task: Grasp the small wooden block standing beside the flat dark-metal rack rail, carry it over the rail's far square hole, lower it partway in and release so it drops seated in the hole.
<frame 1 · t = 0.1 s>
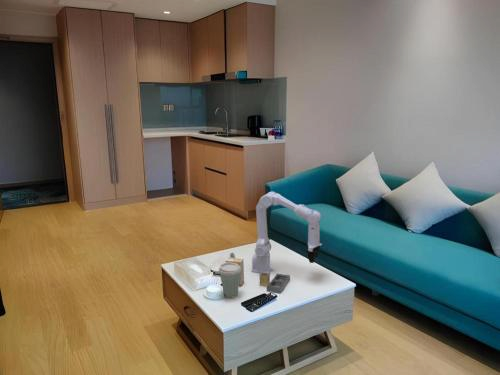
hand: (313, 259, 200), 10 cm above the table, fingers open, 7 cm apart
spoon rest: (224, 268, 217), on the table
supplement box: (235, 283, 197), on the table
disposable coffee cup: (230, 295, 185), on the table
wooden block: (264, 284, 195), on the table
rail: (278, 285, 194), on the table
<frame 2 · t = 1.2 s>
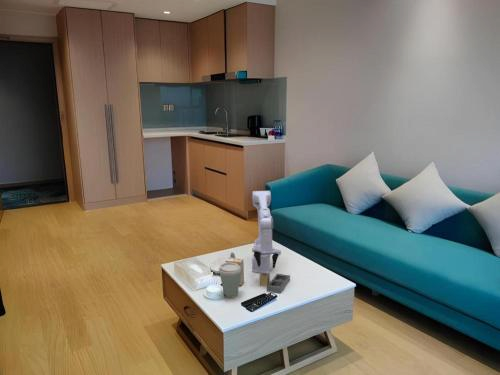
hand: (266, 266, 193), 9 cm above the table, fingers open, 7 cm apart
nothing on the table moved.
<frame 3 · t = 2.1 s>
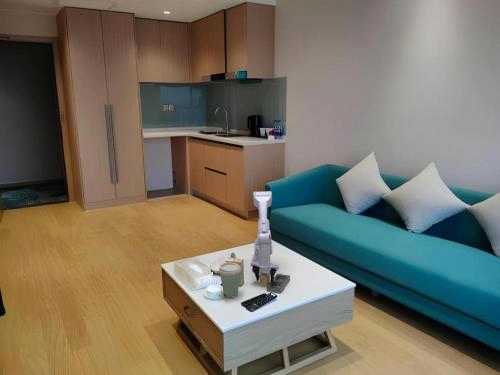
hand: (264, 281, 195), 2 cm above the table, fingers open, 7 cm apart
nothing on the table moved.
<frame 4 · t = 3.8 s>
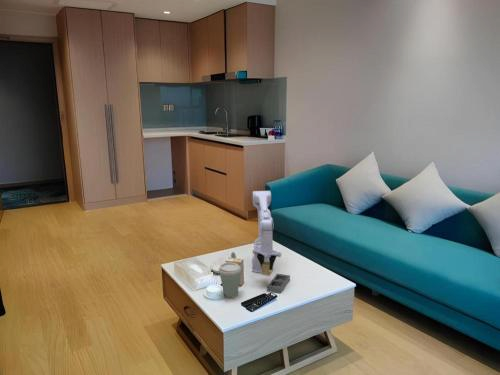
hand: (266, 268, 192), 9 cm above the table, fingers closed on wooden block, 4 cm apart
wooden block: (267, 273, 193), point 6 cm above the table, touching gripper
everything else where it was.
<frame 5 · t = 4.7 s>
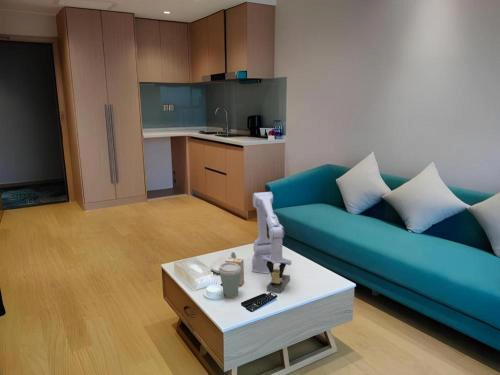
hand: (276, 276, 189), 6 cm above the table, fingers closed on wooden block, 4 cm apart
wooden block: (276, 281, 190), point 4 cm above the table, touching gripper
everything else where it was.
when the fingers open (3 cm above the table, at t = 6.1 s): wooden block stays where it is, resting in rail.
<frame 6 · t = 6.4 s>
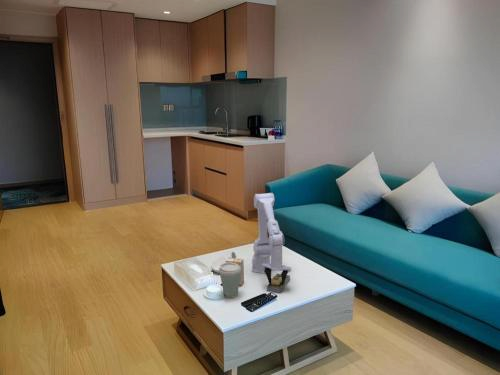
hand: (276, 283, 190), 3 cm above the table, fingers open, 6 cm apart
wooden block: (276, 288, 191), resting in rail
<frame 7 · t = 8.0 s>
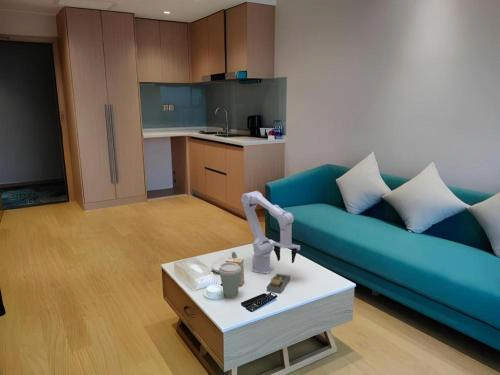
hand: (285, 261, 199), 10 cm above the table, fingers open, 7 cm apart
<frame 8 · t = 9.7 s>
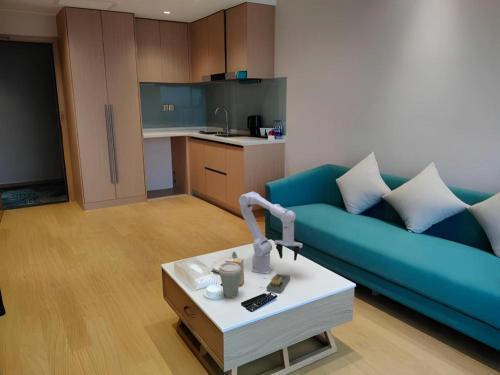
hand: (288, 258, 202), 10 cm above the table, fingers open, 7 cm apart
at the end: wooden block 0.1 cm from the target spot on the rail, point 0.0 cm above the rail's base; wooden block tilted 0°; the gripper is holding nothing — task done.
